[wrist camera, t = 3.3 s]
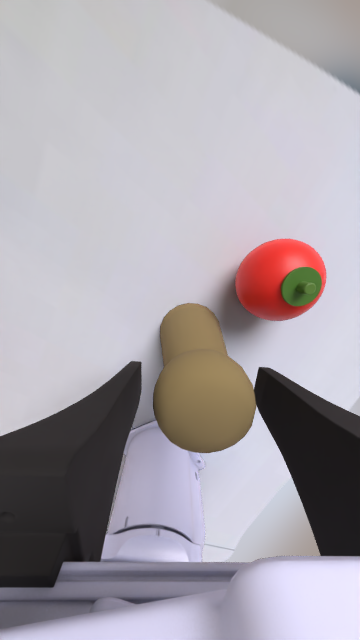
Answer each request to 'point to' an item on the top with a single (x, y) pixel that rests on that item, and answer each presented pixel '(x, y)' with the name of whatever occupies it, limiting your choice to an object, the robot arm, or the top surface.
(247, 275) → the tomato
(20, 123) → the top surface
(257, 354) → the top surface
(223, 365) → the tan rounded tall piece
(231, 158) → the top surface
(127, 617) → the robot arm
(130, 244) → the top surface
